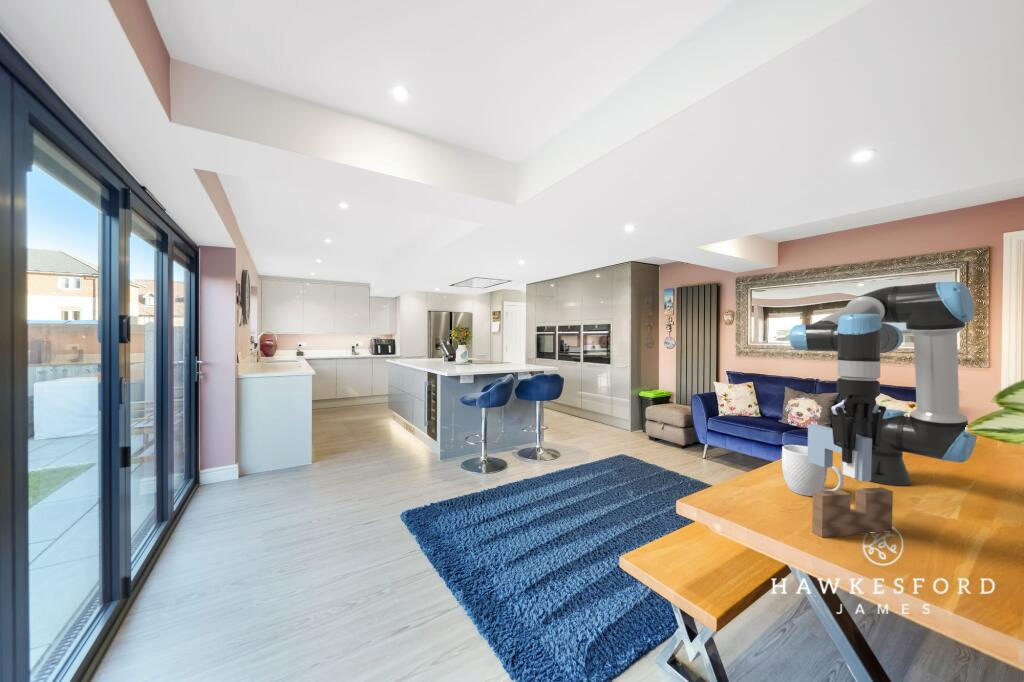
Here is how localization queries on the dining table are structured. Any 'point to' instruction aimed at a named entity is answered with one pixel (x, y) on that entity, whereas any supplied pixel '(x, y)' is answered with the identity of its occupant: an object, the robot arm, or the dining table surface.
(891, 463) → the robot arm
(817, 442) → the pale blue flat slat
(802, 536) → the dining table surface
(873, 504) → the walnut slot plate
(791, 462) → the mug
